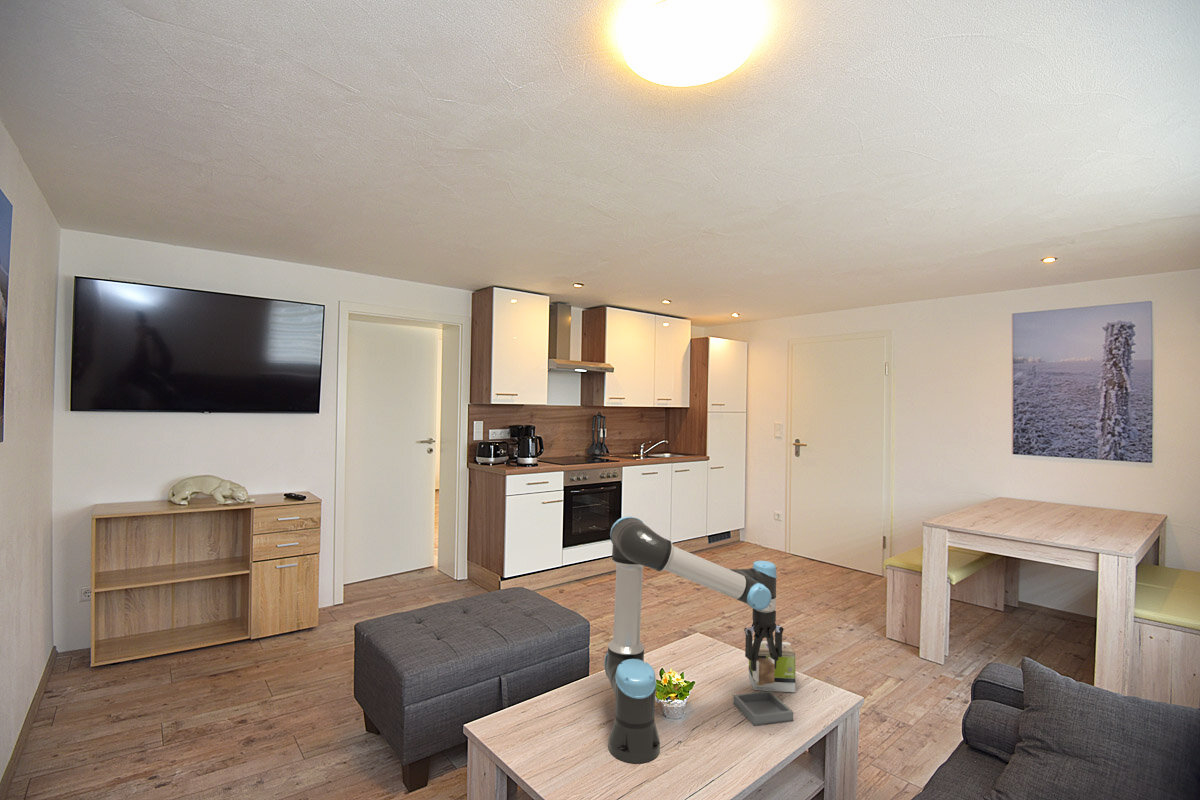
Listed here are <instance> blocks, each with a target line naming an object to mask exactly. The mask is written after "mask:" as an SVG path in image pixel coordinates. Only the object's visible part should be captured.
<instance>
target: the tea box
mask: <svg viewBox="0 0 1200 800" xmlns="http://www.w3.org/2000/svg"><path fill="white" fill-rule="evenodd" d="M753 642H754V639H753ZM774 645H775V640H774ZM752 646H753V643H752ZM768 657H771V656H770V652H769V648H768V643H767V639H766V640H765V639H763V641H762V642H761V645H760V649H759V654H758V658H757V659H762V658H767V659H768ZM778 658H779V659H778V661H776V669H775V671H774V683H769V684H760V683H759V682H756V681H755V680H754V679H753V670H751V660H749V659H748V677H749V680H750V683H751V686H752V689H753V690H754V691H762V692H763V691H771V692H780V693H781V692H783V693H796V692H797V691H796V685H797V683H796V682H797V681H796V651H795V650H794V648H793V646H792V645H791V643H790V641H787V640H786V641H784V640H782V657H778Z"/></svg>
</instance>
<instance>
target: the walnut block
mask: <svg viewBox="0 0 1200 800" xmlns="http://www.w3.org/2000/svg"><path fill="white" fill-rule="evenodd" d="M757 661H759V683H760V684H769V683H774V671H775V665H774V664H773V663H772V662H771V661H769V660H768V659H767V658H762V659H757Z"/></svg>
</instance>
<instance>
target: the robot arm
mask: <svg viewBox="0 0 1200 800" xmlns="http://www.w3.org/2000/svg"><path fill="white" fill-rule="evenodd" d="M609 536H610V541H611V543H612V552H611V553H612V555H611V561H612V562H613V563H614V564H615V565H616V567H615V586H614V587H615V588H614V590H615V591H614V609H613V610H614V612H613V613H614V615H613V634H612V635H613V636H612V639H611V640H610V641H609V642H608V644H607V652H606V654H605V657H604V662H603V663H604V671H605V674H606V677H607V678H608V680H609V683H610V685H611V688H612V690H613V693H614V695H615V703H614V704H615V711H614V713H615V715H614V721H613V724H612V726H611V727H612V728H611V731H610V733H609V737H608V750H609V752H610V754H611V755H612V756H614V757H615V758H616V759H618V760H620V761H623V762H626V763H630V764H643V763H648V762H650V761H653V760H654V759H656V758H657V756H659V754H660V751H661V740H660V736H659V732H658V730H657V726H656V723H655V713H656V712H655V711H656V709H655V708H656V687H657V680H656V679H657V678H656V673H655V669H654V667H653V666H652V665H651V664H650V663H648V662H645V661H644V660H645V645H644V644H643V643H642V642H641V619H642V598H643V596H642V595H643V577H644V576H643V575H644V567H647V568H649V569H652V570H655V571H657V572H663V571H666V572H669V573H671V574H673V575H677V576H679V577H680V578H684V579H685V580H688V581H691V582H692V583H693V582H694V583H696V584H698V585H700V586H703V587H706V588H708V589H711V590H712V591H715V592H717V593H721V594H722V595H725V596H727V597H730V598H732V599H734V600H737V601H739V602H742V603H744V604H746V605H748V606H749V607H750V608H752V615H751V616H752V624H751V627H744V633H745V642H744V643H745V645H744V646H745V647H744V648H745V649H744V650H745V651H744V652H745V653H744V656H745V658H746V659H748V661H749V660H751V670H753V679H754V680H755V681H756V682H759V661H757V658H758V654H759V649H760V645H761V642H762V641H763V640H764V639H766V640H767V643H768V648H769V652H770V656H771V657H768V660H769V661H771V662H772V663H773V664H774V665H775V669H776V661H778V659H779V658H778V657H782V641H783V633H784V630H785V629H784V627H783V626H781V625H779V624H776V622H777V611H776V609H777V578H778V576H777V567H776V564H775V563H773V562H771V561H767V560H755V561H754V562H752V563H753V564H752V567H751V568H726V567H724V566H722V565H719V564H717V563H715V562H712V561H710V560H707V559H705V558H704V557H700V556H699V555H696V554H694V553H691V552H688V551H686V550H684V549H681V548H679V547H677V546H675V545H673V541H671V540H669V539H667V538H664V537H662V536H661V535H660V534H658V533H657V532H656V531H654V530H653V529H652V528H651V527H649V526H648V525H646V524H645V523H644V522H643V520H641V519H639V518H637V517H635V516H634V517H633V516H629V515H628V516H623V517H620V518H619V519H617V520H616V521H615V522H614V523H613V524H612V526H611V528H610V532H609ZM753 638H754V639H753ZM753 640H754V642H753ZM774 641H775V645H774ZM752 643H753V646H752Z"/></svg>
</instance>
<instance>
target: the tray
mask: <svg viewBox="0 0 1200 800" xmlns="http://www.w3.org/2000/svg"><path fill="white" fill-rule="evenodd" d="M732 703H733V705H734V707H736V708H737V710H738V711H740V712H741V714H742V716H744V717H745V718H746V719H747V720H748V721H749V722H750V723H751V724H752V726H754V727H757V726H758V727H760V726H766V725H774V724H782V723H790V722H794V711H793V709H791V708H790V707H789V706H787V704H785V703H784V702H783V701H782V700H781V699H780V698H779V697H778V696H776V694H774V693H773V691H763V690H762V691H755V692H746V693H737V694H733V702H732Z"/></svg>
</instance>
